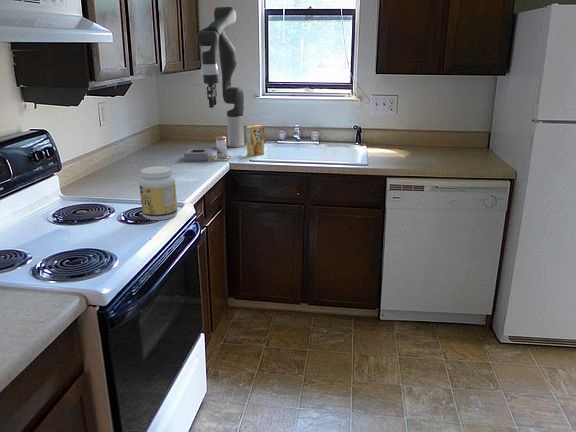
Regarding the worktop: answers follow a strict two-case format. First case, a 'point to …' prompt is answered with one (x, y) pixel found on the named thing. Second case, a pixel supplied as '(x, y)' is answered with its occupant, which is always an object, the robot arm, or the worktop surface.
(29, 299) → the worktop surface
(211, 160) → the board
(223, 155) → the clear glass
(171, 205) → the supplement tub
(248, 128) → the candy box
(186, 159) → the housing
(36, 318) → the worktop surface
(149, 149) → the worktop surface
